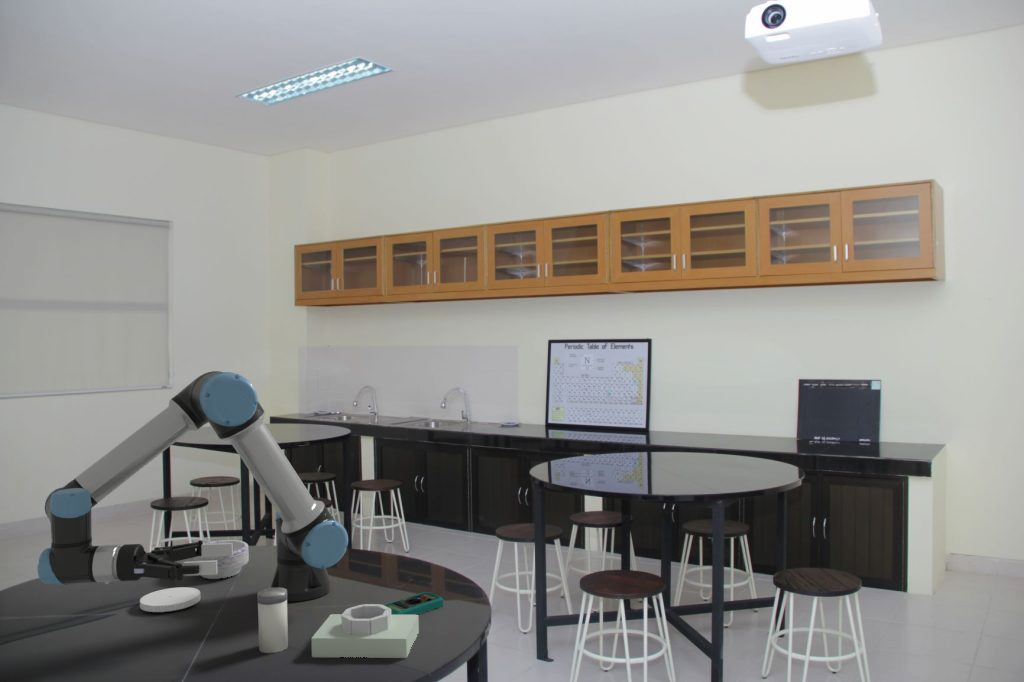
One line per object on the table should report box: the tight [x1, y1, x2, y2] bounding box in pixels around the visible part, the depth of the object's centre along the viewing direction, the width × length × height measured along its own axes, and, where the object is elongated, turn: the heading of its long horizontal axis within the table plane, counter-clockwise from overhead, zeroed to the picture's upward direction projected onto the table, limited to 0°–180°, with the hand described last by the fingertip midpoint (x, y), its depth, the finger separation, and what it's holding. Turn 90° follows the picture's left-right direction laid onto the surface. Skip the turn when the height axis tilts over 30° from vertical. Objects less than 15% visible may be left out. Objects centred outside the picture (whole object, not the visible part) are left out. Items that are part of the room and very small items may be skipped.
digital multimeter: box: [383, 591, 444, 615], centre depth 195 cm, size 7×15×3 cm, turn 135°
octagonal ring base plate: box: [311, 603, 420, 659], centre depth 174 cm, size 14×20×7 cm
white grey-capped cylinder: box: [256, 587, 289, 654], centre depth 174 cm, size 6×6×12 cm
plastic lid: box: [139, 586, 201, 613], centre depth 202 cm, size 14×14×2 cm
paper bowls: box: [190, 539, 250, 580], centre depth 227 cm, size 15×15×8 cm
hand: (225, 558), depth 172 cm, fingers open, 13 cm apart
